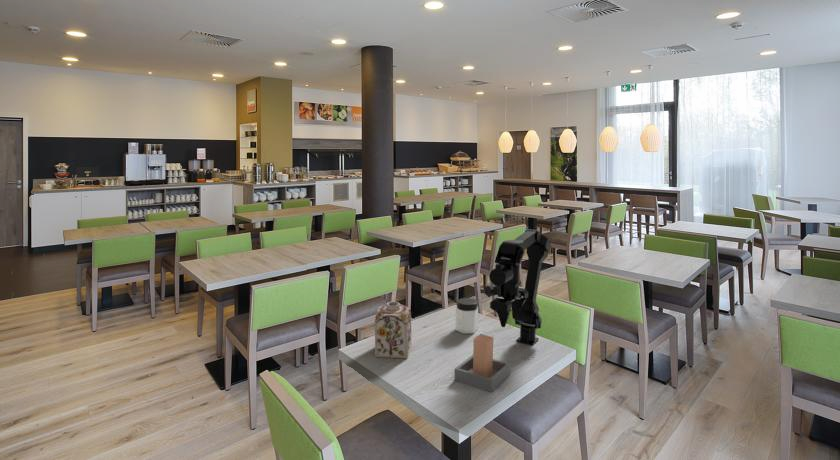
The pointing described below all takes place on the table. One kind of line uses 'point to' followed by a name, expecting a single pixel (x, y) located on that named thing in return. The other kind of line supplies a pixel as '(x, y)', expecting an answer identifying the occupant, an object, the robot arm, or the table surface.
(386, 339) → the decorative jar
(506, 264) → the robot arm
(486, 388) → the box
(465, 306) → the jar
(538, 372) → the table surface
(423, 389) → the table surface
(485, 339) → the terracotta block
